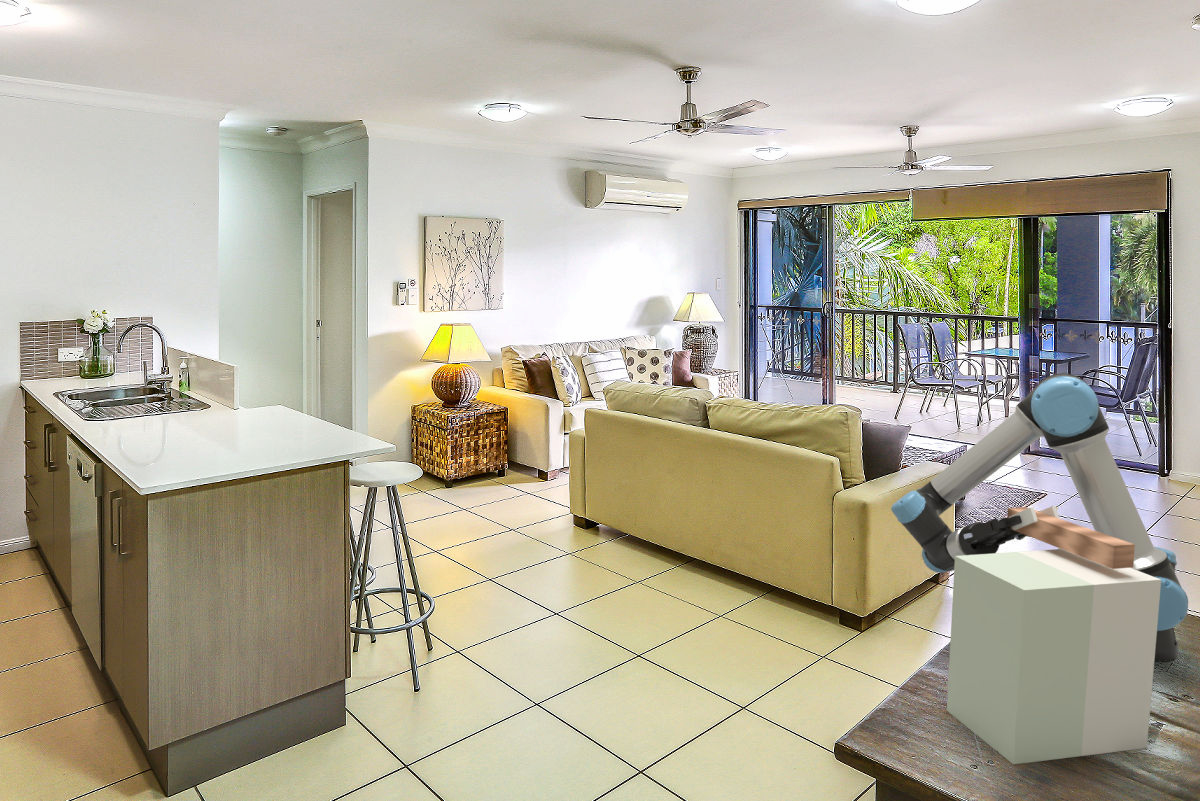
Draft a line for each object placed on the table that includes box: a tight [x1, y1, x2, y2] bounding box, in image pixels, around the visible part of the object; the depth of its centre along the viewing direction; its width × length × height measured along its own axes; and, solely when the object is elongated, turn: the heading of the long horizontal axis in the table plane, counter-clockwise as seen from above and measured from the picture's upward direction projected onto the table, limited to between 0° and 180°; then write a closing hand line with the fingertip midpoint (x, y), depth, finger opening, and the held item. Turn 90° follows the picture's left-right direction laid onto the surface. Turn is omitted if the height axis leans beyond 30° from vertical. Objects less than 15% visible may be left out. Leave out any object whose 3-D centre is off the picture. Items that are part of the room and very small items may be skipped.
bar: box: [1006, 506, 1135, 569], centre depth 146 cm, size 26×4×4 cm, turn 11°
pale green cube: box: [946, 548, 1161, 765], centre depth 141 cm, size 18×26×30 cm
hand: (1044, 513), depth 151 cm, fingers closed on bar, 4 cm apart
